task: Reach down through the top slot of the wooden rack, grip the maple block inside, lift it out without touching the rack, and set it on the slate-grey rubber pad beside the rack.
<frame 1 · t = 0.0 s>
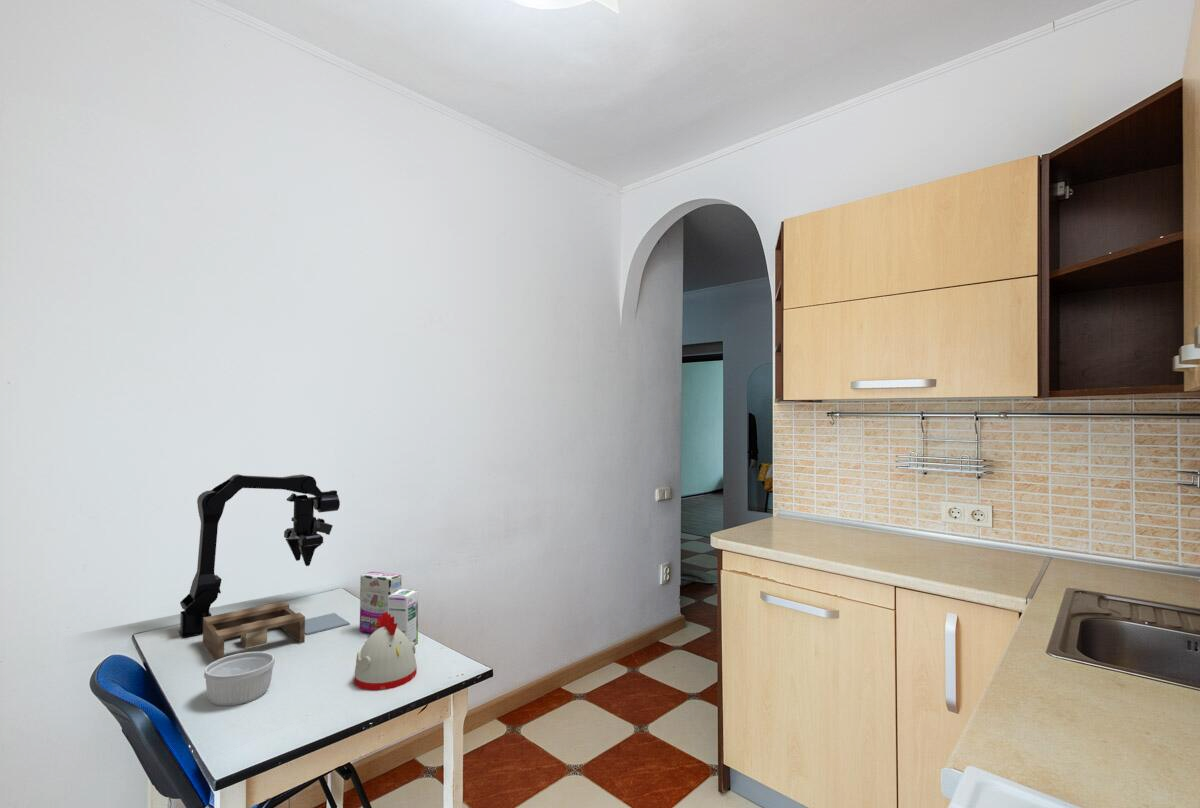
hand: (302, 563, 182), 15 cm above the table, fingers open, 9 cm apart
maple block: (254, 634, 155), in the wooden rack
ramekin: (239, 695, 126), on the table
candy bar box: (380, 632, 163), on the table
kitchen timer: (385, 677, 135), on the table
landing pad: (320, 624, 169), on the table
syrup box: (402, 647, 153), on the table
wooden rack: (253, 643, 154), on the table
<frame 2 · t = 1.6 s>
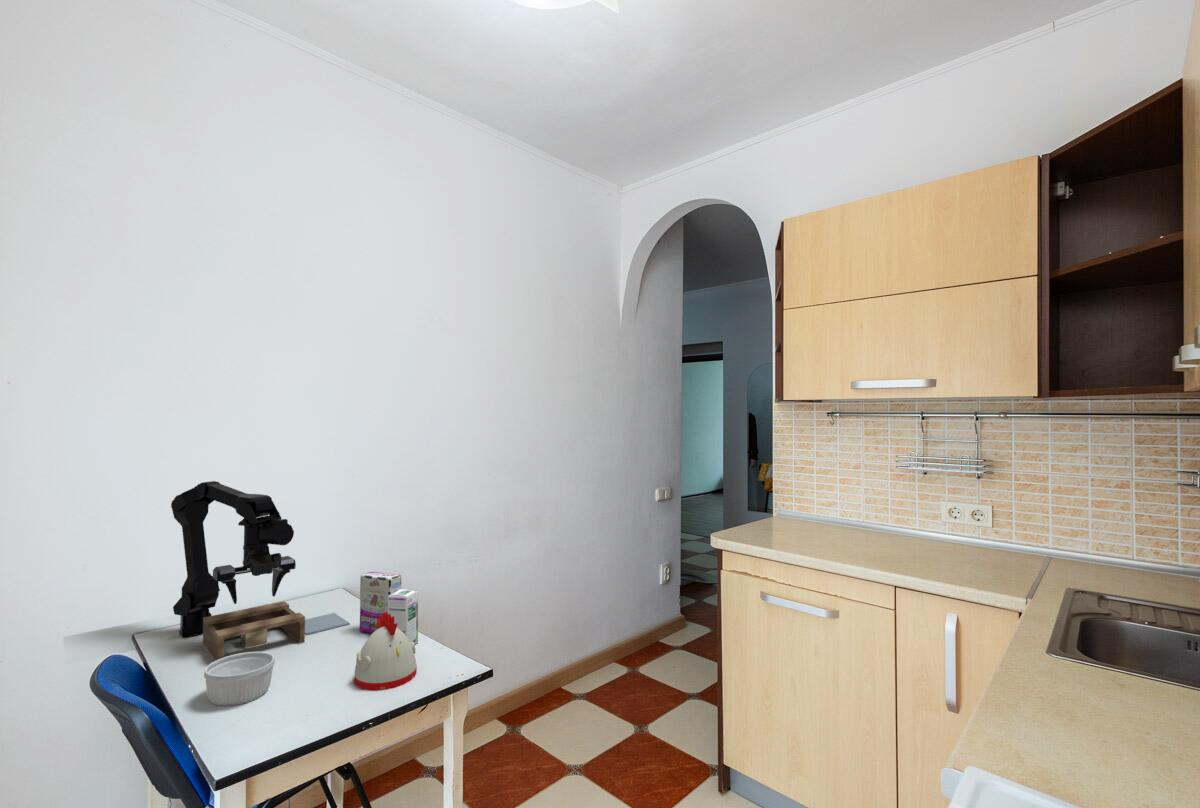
hand: (254, 599, 155), 12 cm above the table, fingers open, 9 cm apart
nothing on the table moved.
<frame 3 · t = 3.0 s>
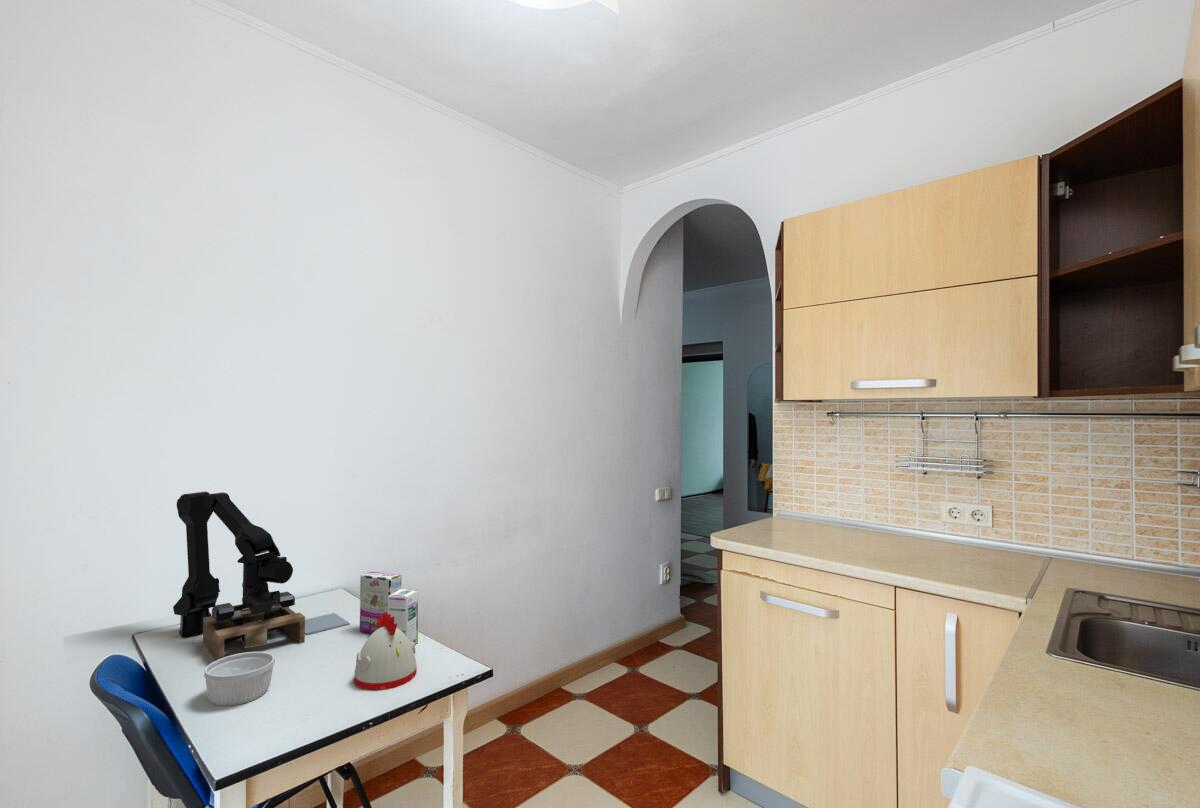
hand: (253, 637, 155), 2 cm above the table, fingers closed on maple block, 5 cm apart
maple block: (254, 633, 155), in the wooden rack, touching gripper
everything else where it was.
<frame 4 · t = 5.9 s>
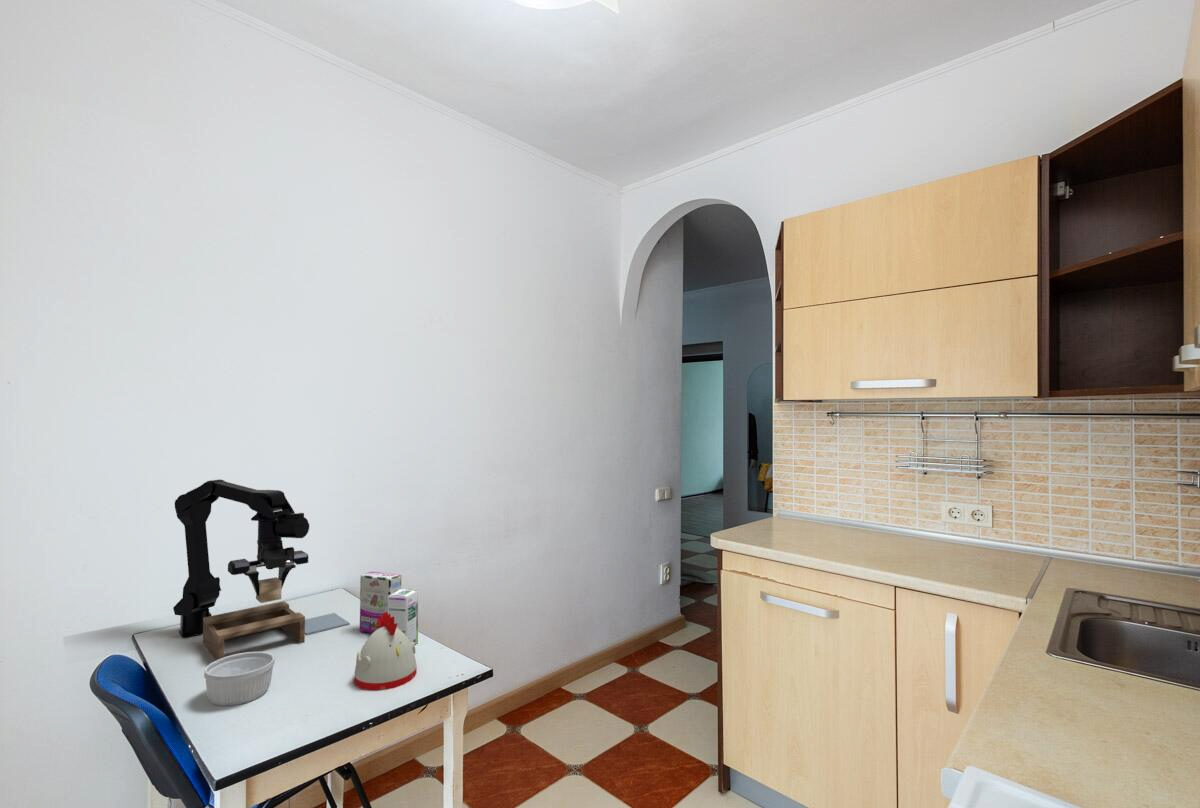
hand: (268, 593, 157), 13 cm above the table, fingers closed on maple block, 5 cm apart
maple block: (268, 589, 157), point 14 cm above the table, touching gripper
everything else where it was.
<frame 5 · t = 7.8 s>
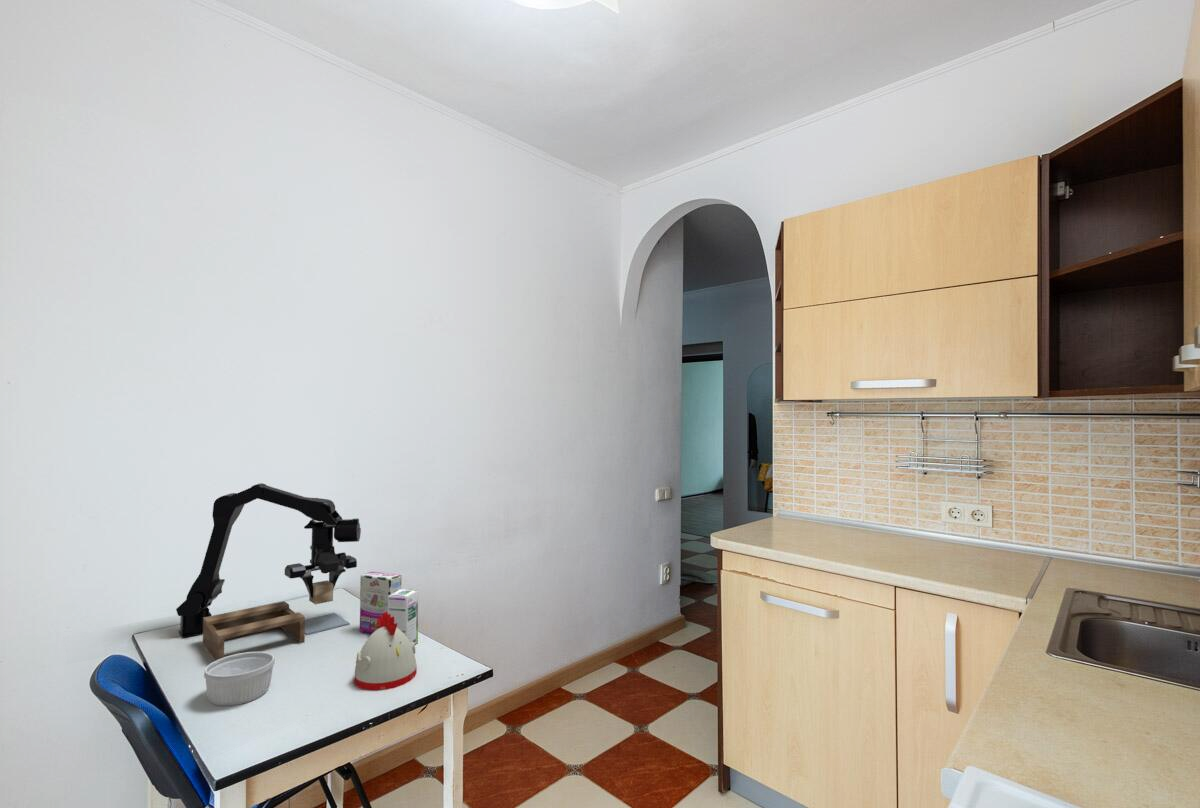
hand: (321, 595, 169), 9 cm above the table, fingers closed on maple block, 5 cm apart
maple block: (321, 592, 169), point 10 cm above the table, touching gripper
everything else where it was.
when the fingers open (3 cm above the table, at t = 9.1 s): maple block stays where it is, resting on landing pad.
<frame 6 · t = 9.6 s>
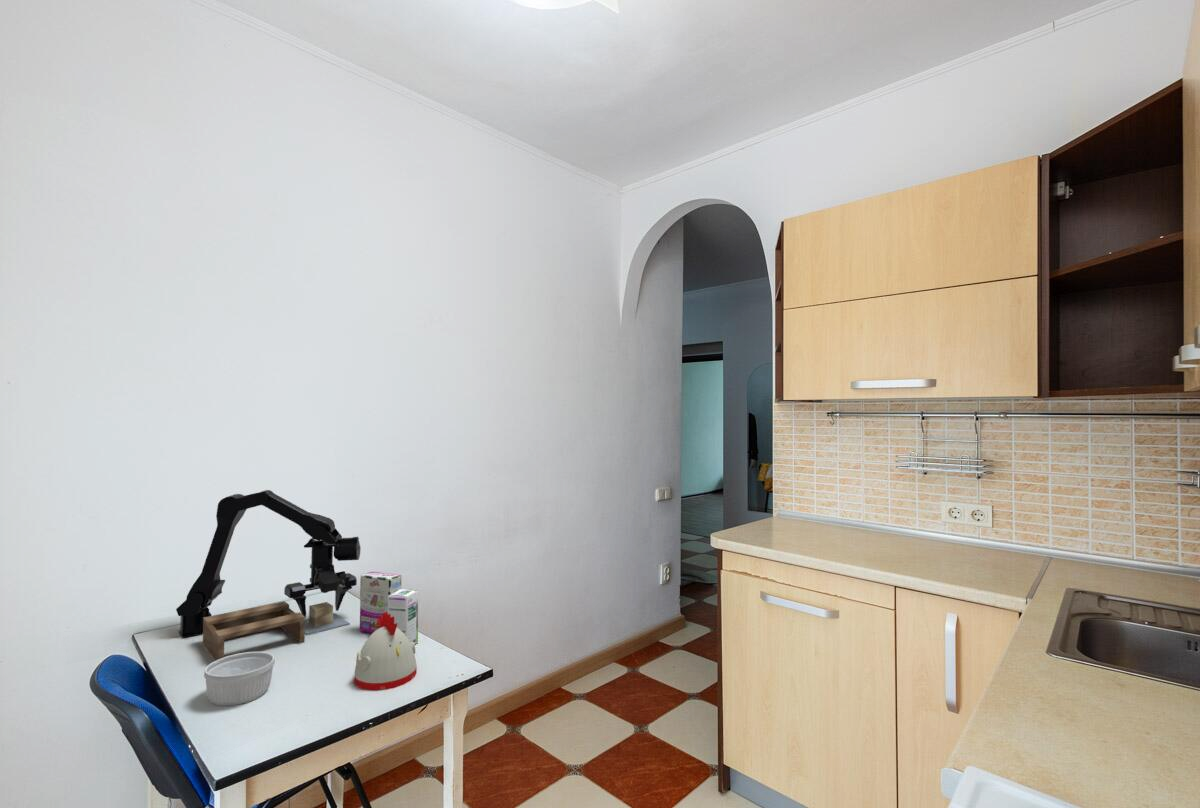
hand: (321, 614, 169), 3 cm above the table, fingers open, 9 cm apart
maple block: (321, 614, 169), on the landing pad
everything else where it was.
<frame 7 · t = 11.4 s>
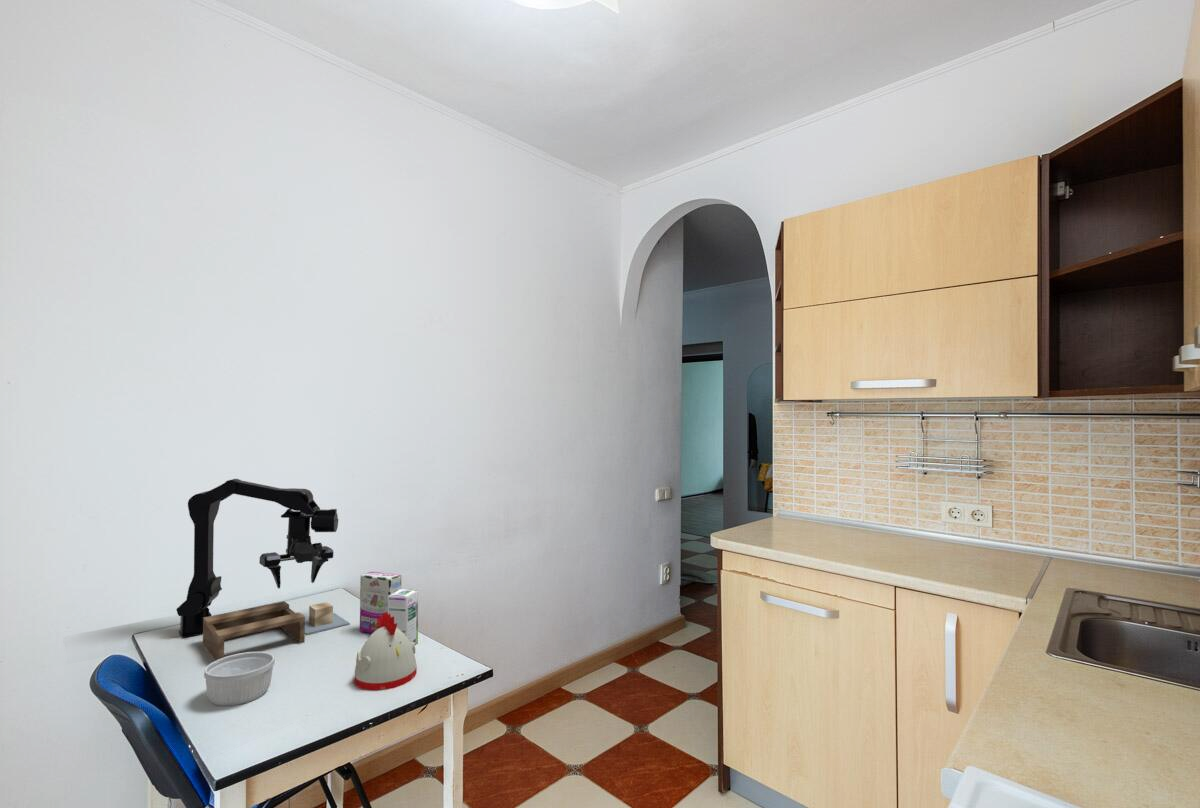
hand: (296, 585, 168), 12 cm above the table, fingers open, 9 cm apart
nothing on the table moved.
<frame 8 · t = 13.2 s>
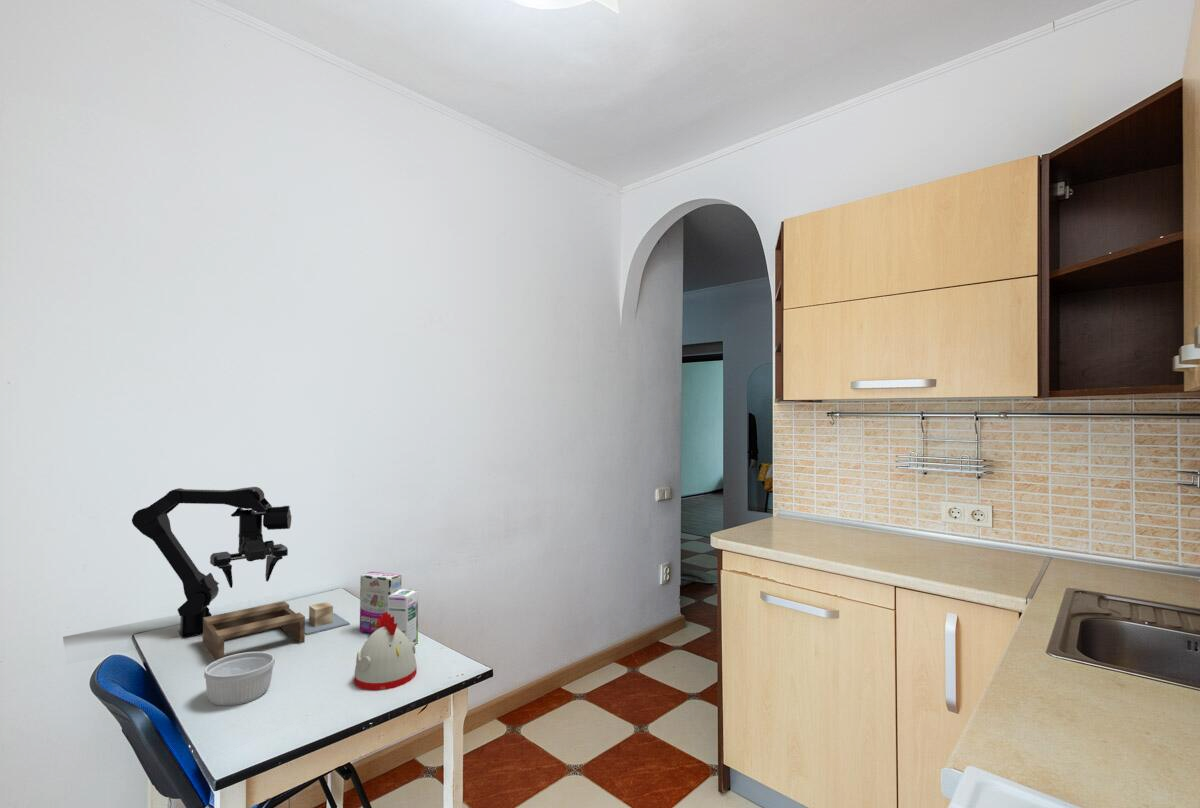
hand: (249, 584, 166), 13 cm above the table, fingers open, 9 cm apart
nothing on the table moved.
at the end: maple block inside the target area on the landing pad (0.1 cm from its centre), point 3.0 cm above the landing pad's base; maple block tilted 0°; maple block touching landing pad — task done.
